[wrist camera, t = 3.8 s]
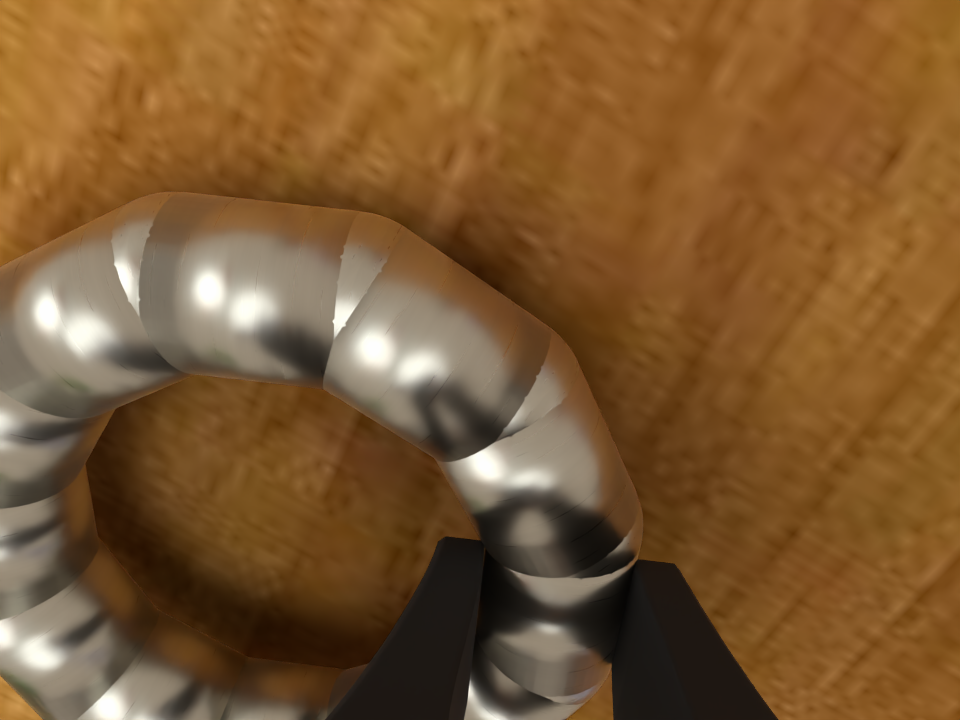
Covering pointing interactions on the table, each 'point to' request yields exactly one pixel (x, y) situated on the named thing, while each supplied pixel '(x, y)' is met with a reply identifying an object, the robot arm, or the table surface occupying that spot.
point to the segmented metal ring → (305, 363)
